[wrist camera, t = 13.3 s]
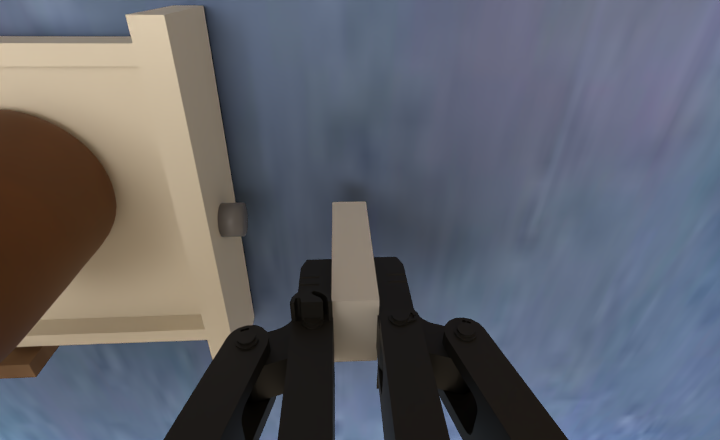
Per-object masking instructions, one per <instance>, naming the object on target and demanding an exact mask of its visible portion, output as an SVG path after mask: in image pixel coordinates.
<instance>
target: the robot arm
mask: <svg viewBox="0 0 720 440" xmlns="http://www.w3.org/2000/svg"><path fill="white" fill-rule="evenodd" d="M290 309H291V319H292V321H291V322H290V323H289V324H287V325H286V326H284V327H282V328H280V329H277V330H274V331H270V332H267V331H266V330H264V329H263V328H262V327H259V326H256V325H247V326H243V327H240V328H238V329H236V330H234V331H233V332H231V333H230V335H229V336H228V337H227V338H226V340H225V341H224V343H223V344H222V346H221V348H220V349H219V351H218V353H217V354H216V356H215V357H214V359H213V361H212V362H211V364H210V365H209V367H208V369H207V370H206V372H205V374H204V375H203V377H202V378H201V380H200V382H199V383H198V385H197V386H196V388H195V390H194V391H193V393H192V395H191V396H190V398H189V399H188V401H187V403H186V404H185V406H184V407H183V409H182V411H181V412H180V414H179V415H178V417H177V419H176V420H175V422H174V424H173V425H172V427H171V428H170V430H169V432H168V433H167V435H166V436H165V438H164V440H259V438H260V436H261V433H262V431H263V428H264V426H265V424H266V421H267V419H268V416H269V414H270V412H271V409H272V407H273V404H274V402H275V399H276V396H277V395H280V394H283V400H282V408H281V417H280V425H279V433H278V440H335V372H334V362H343V361H371V360H377V359H378V373H377V389H379V393H380V403H381V412H382V422H383V432H384V440H450V438H449V434H448V430H447V425H446V421H445V417H444V413H443V409H442V405H441V401H440V398H441V400H442V402H443V403H444V405H445V407H446V409H447V411H448V413H449V415H450V417H451V419H452V420H453V422H454V424H455V426H456V428H457V430H458V432H459V434H460V436H461V437H462V439H463V440H568V439H567V437H566V436H565V435H564V433H563V432H562V431H561V429H560V428H559V427H558V425H557V424H556V423H555V421H554V420H553V419H552V417H551V416H550V415H549V413H548V412H547V411H546V410H545V408H544V407H543V406H542V404H541V403H540V402H539V400H538V399H537V398H536V396H535V395H534V394H533V392H532V391H531V390H530V388H529V387H528V386H527V384H526V383H525V382H524V380H523V379H522V378H521V377H520V375H519V374H518V373H517V371H516V370H515V369H514V367H513V366H512V365H511V363H510V362H509V361H508V359H507V358H506V357H505V355H504V354H503V353H502V351H501V350H500V349H499V347H498V346H497V345H496V343H495V342H494V341H493V340H492V338H491V337H490V336H489V334H488V333H487V332H486V330H485V329H484V328H483V327H482V326H481V325H480V324H479V323H477V322H475V321H473V320H471V319H467V318H454V319H452V320H450V321H448V323H447V324H446V325H445V326H442V325H438V324H433V323H430V322H427V321H425V320H423V319H422V318H421V317H419V315H418V313H417V312H416V311H415V310H414V308H413V304H412V299H411V295H410V291H409V287H408V283H407V278H406V275H405V270H404V266H403V264H402V263H401V262H400V261H399V259H398V258H397V257H373V250H372V243H371V235H370V228H369V221H368V214H367V206H366V202H332V259H323V260H307V261H306V262H305V263H304V265H303V266H302V267H301V272H300V280H299V289H298V293H296V294H295V295H294V296H293V297H292V299H291V301H290ZM439 396H440V397H439Z"/></svg>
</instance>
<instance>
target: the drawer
mask: <svg viewBox="0 0 720 440" xmlns="http://www.w3.org/2000/svg"><path fill="white" fill-rule="evenodd" d="M126 19H127V23H128V27H129V31H130V35H131V36H0V109H2V110H11V111H17V112H21V113H25V114H29V115H32V116H35V117H38V118H40V119H43V120H46V121H48V122H50V123H52V124H54V125H56V126H58V127H60V128H62V129H63V130H65V131H67V132H68V133H70V134H71V135H73V136H74V137H75V138H76V139H78V140H79V141H80V142H82V143H83V144H84V145H85V146H86V147H87V148H88V149H89V150H90V151H91V152H92V153H93V154H94V155H95V156H96V158H97V159H98V160H99V162H100V163H101V164H102V166H103V167H104V169H105V171H106V172H107V174H108V176H109V178H110V181H111V183H112V185H113V189H114V193H115V197H116V216H115V221H114V224H113V226H112V229H111V231H110V233H109V235H108V236H107V238H106V239H105V241H104V242H103V244H102V245H101V246H100V248H99V249H98V250H97V251H96V253H95V254H94V255H93V256H92V257H91V259H90V260H89V261H88V262H87V263H86V264H85V266H84V267H83V268H82V269H81V270H80V272H79V273H78V274H77V275H76V277H75V278H74V279H73V280H72V282H71V283H70V284H69V285H68V287H67V288H66V289H65V290H64V291H63V293H62V294H61V295H60V296H59V297H58V298H57V300H56V301H55V302H54V303H53V304H52V306H51V307H50V308H49V309H48V310H47V311H46V313H45V314H44V315H43V316H42V317H41V319H40V320H39V321H38V322H37V323H36V324H35V326H34V327H33V328H32V329H31V330H30V332H29V333H28V334H27V335H26V336H25V337H24V339H23V340H22V341H21V342H20V343H19V344H18V345H17V347H30V346H57V345H83V344H109V343H136V342H162V341H189V340H208V344H209V348H210V352H211V356H212V360H213V359H214V357H215V356H216V354H217V353H218V351H219V349H220V348H221V346H222V344H223V343H224V341H225V340H226V338H227V337H228V336H229V335H230V333H231V332H233V331H234V330H236V329H238V328H240V327H243V326H247V325H253V322H254V312H253V306H252V299H251V293H250V287H249V281H248V275H247V269H246V263H245V257H244V251H243V245H242V238H241V237H242V236H246V233H247V228H248V214H247V208H246V205H245V203H236V202H235V196H234V190H233V184H232V177H231V171H230V165H229V159H228V153H227V147H226V141H225V135H224V129H223V123H222V116H221V110H220V104H219V98H218V92H217V86H216V80H215V74H214V68H213V62H212V55H211V49H210V43H209V37H208V31H207V25H206V19H205V13H204V7H203V6H195V5H173V6H168V7H163V8H158V9H153V10H147V11H142V12H137V13H132V14H127V15H126Z"/></svg>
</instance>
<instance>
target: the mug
mask: <svg viewBox="0 0 720 440" xmlns="http://www.w3.org/2000/svg"><path fill="white" fill-rule="evenodd" d="M115 216H116V197H115V193H114V189H113V185H112V183H111V181H110V178H109V176H108V174H107V172H106V171H105V169H104V167H103V166H102V164H101V163H100V162H99V160H98V159H97V158H96V156H95V155H94V154H93V153H92V152H91V151H90V150H89V149H88V148H87V147H86V146H85V145H84V144H83V143H82V142H80V141H79V140H78V139H76V138H75V137H74V136H73V135H71V134H70V133H68V132H67V131H65V130H63V129H62V128H60V127H58V126H56V125H54V124H52V123H50V122H48V121H46V120H43V119H40V118H38V117H35V116H32V115H29V114H25V113H21V112H17V111H11V110H2V109H0V363H1V362H2V361H3V360H4V359H5V358H6V357H7V356H8V355H9V354H10V353H11V352H12V351H13V350H14V349H15V348H16V347H17V345H18V344H19V343H20V342H21V341H22V340H23V339H24V337H25V336H26V335H27V334H28V333H29V332H30V330H31V329H32V328H33V327H34V326H35V324H36V323H37V322H38V321H39V320H40V319H41V317H42V316H43V315H44V314H45V313H46V311H47V310H48V309H49V308H50V307H51V306H52V304H53V303H54V302H55V301H56V300H57V298H58V297H59V296H60V295H61V294H62V293H63V291H64V290H65V289H66V288H67V287H68V285H69V284H70V283H71V282H72V280H73V279H74V278H75V277H76V275H77V274H78V273H79V272H80V270H81V269H82V268H83V267H84V266H85V264H86V263H87V262H88V261H89V260H90V259H91V257H92V256H93V255H94V254H95V253H96V251H97V250H98V249H99V248H100V246H101V245H102V244H103V242H104V241H105V239H106V238H107V236H108V235H109V233H110V231H111V229H112V226H113V224H114V221H115Z"/></svg>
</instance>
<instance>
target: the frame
mask: <svg viewBox="0 0 720 440" xmlns="http://www.w3.org/2000/svg"><path fill="white" fill-rule="evenodd" d="M58 347H59V345H57V346H30V347H16V348H15V349H14V350H13V351H12V352H11V353H10V354H9V355H8V356H7V357H6V358H5V359H4V360H3V361H2V362H1V363H0V379H1V378H25V377H37V375H38V374H39V373H40V371H41V370H42V368H43V367H44V366H45V364H46V363H47V362H48V360H49V359H50V358H51V356H52V355H53V353H54V352H55V351H56V349H57V348H58Z"/></svg>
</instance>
